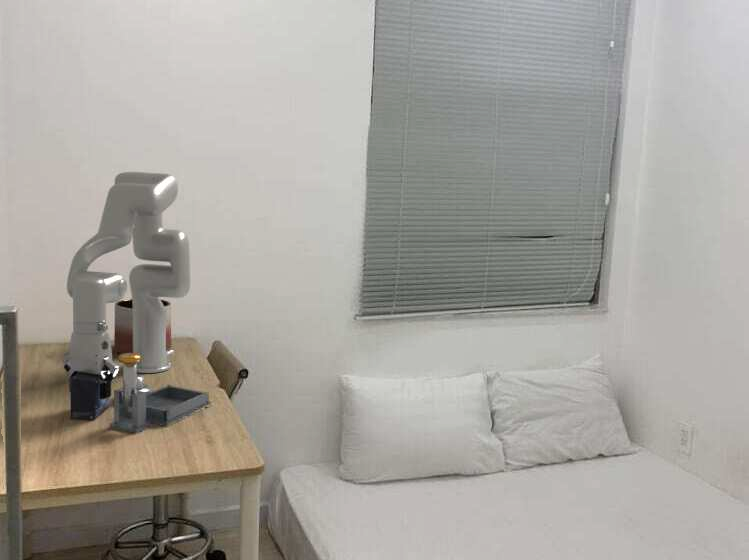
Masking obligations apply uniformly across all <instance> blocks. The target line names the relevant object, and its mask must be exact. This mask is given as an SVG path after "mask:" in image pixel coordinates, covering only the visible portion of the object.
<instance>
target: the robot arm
mask: <svg viewBox="0 0 749 560" xmlns="http://www.w3.org/2000/svg"><path fill="white" fill-rule="evenodd" d="M178 191H179V185H178V181H177V179H176V177H174V176H173V175H172V174H169V173H159V172H156V173H155V172H146V171H145V172H144V171H143V172H142V171H141V172H140V171H125V172H124V171H122V172H120V173H118V174H117V175H116V176H115V179H114V185H112V186H111V187H110V188H109V189H108V192H107V196H106V199H105V203H104V206H103V211H102V216H101V219H100V222H99V227H98V231H97V233H96V234H94V235H93V236H92V237H90V239H88V240H87V241H85V243H83V245H82V246H81V247H80V248H79V249H77V252H75V254H74V256H73V258H72V260H71V263H70V267H69V271H68V275H67V279H66V280H67V281H66V291H67V294H68V296H69V297H70V298H72V320H73V321H72V332H71V335H70V341H69V342H70V343H69V353H68V354H66V355H64V356H61V361H62V364H63V367H64V368H63V369H64V370H65V371H66V373H67V374H66V375H67V377H68V379H69V380H68V381H69V383H68V384H69V390H70V378H71V377H73V376H74V375H76V374H77V373H79V372H82V373H87V374H93V375H98V377H99V378H100V380H101V382H102V383H100V399H105V398H108V397H109V398H110V397H111V395H112V382H113V381H114V379H115V378H116V377H117V374H118V372H119V370H120V366H119V365H117V364H116V363H115V362H114V361H113V353H112V352H113V351H112V344H111V340H110V339H111V338H110V335H109V333H108V332H107V331H108V329H109V327H108V326H109V325H107V324H106V323H107V322H106V321H107V320H106V319H107V317H106V315H107V313H106V312H107V309H106V304H112V303H113V304H114V303H116V302H118V301H122V300H123V298H124V297H125V295H126V294H127V290H128V284H127V280H126V279H125V277H124V276H123V275H121V274H119V273H116V272H107V271H106V272H103V271H91V270H89V267H90V266H91V265H92V263H94V261H96V260H97V259H98V258H99V257H101V256H104V255H105V254H108V253H111V252H113V251H116V250H119V249H121V248H124V247H126V246H128V245H129V244H130V243H131V242H132V246H133V247H132V248H133V254H134V256H135V257H136V258H137V259H139V260H143V261H150V262H161V263H163V262H166V263H169V264H170V265H167V264H166V265H165V264H156V263H155V264H154V263H150V264H149V263H142V264H138V265H136V266H133V267H132V269H131V270H130V273H129V274H128V276H129V278H128V281H129V287H130V292H131V299H132V303H133V353H137V354H140V355H141V360H140V361H139V362H137V374H138V373H140V374H143V373H144V374H155V373H161V372H166V371H168V370H170V369H171V367H172V363H171V362H170V361H169V360H168V358H169V357H170V358H171V357H172V356H175V350H174V349H169V350H168V351H166V310H165V307H164V305H163V303H162V302H161V300H162V299H160V298H171V299H181V298H184V297H186V296H187V295H188V293H189V292H190V289H191V288H190V286H191V269H190V268H191V267H190V265H191V264H190V263H191V262H190V260H191V259H190V242H189V238H188V236H187V235H186V233H185V232H183V231H182V230H179V229H166V228H164V226H163V213H164V212H165V211H166V210H167V209H168V208H169V207H170V206H171V205H173V203H175V201H176V199H177V196H178V194H179V192H178ZM88 270H89V271H88ZM109 371H110V372H109ZM103 374H105V376H106V377H105V376H104V375H103Z"/></svg>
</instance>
